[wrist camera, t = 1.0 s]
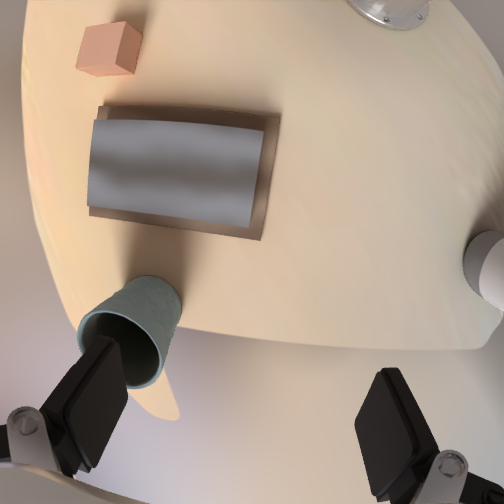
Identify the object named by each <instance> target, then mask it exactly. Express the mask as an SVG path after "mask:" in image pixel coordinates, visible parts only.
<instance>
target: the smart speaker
mask: <svg viewBox="0 0 504 504" xmlns="http://www.w3.org/2000/svg"><path fill="white" fill-rule="evenodd" d="M463 271H464V275H465V278H466V281H467V283H468V284H469V286H470V287H471V288H472V289H473V291H475V292H476V293H477V294H478V295H479V296H481V297H482V298H483V299H485V300H486V301H488V302H489V303H491V304H492V305H494V306H495V307H497V308H498V309H500V310H502V311H503V312H504V233H502V232H498V231H485V232H482V233H480V234H479V235H477V236H476V237H475V238H474V239H473V240H472V241H471V243H470V244H469V246H468V248H467V250H466V252H465V256H464V261H463Z"/></svg>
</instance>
